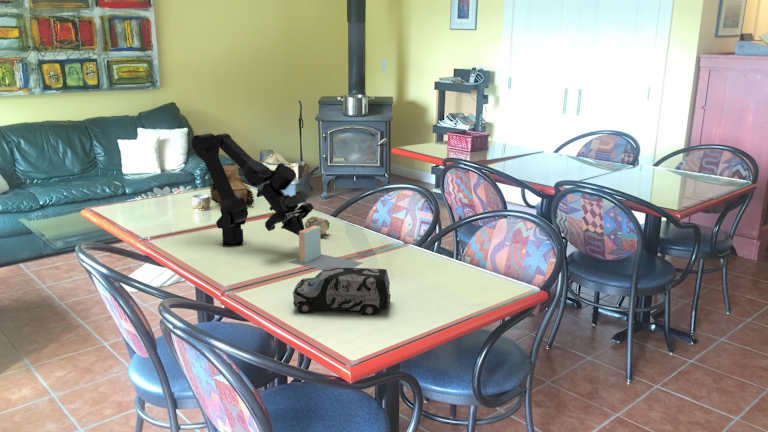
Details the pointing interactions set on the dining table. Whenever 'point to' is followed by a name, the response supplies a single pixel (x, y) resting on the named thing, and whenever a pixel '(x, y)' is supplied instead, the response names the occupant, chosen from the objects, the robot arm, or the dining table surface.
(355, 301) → the toy car
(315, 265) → the mat
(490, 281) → the dining table surface
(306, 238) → the block
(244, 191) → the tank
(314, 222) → the rock
